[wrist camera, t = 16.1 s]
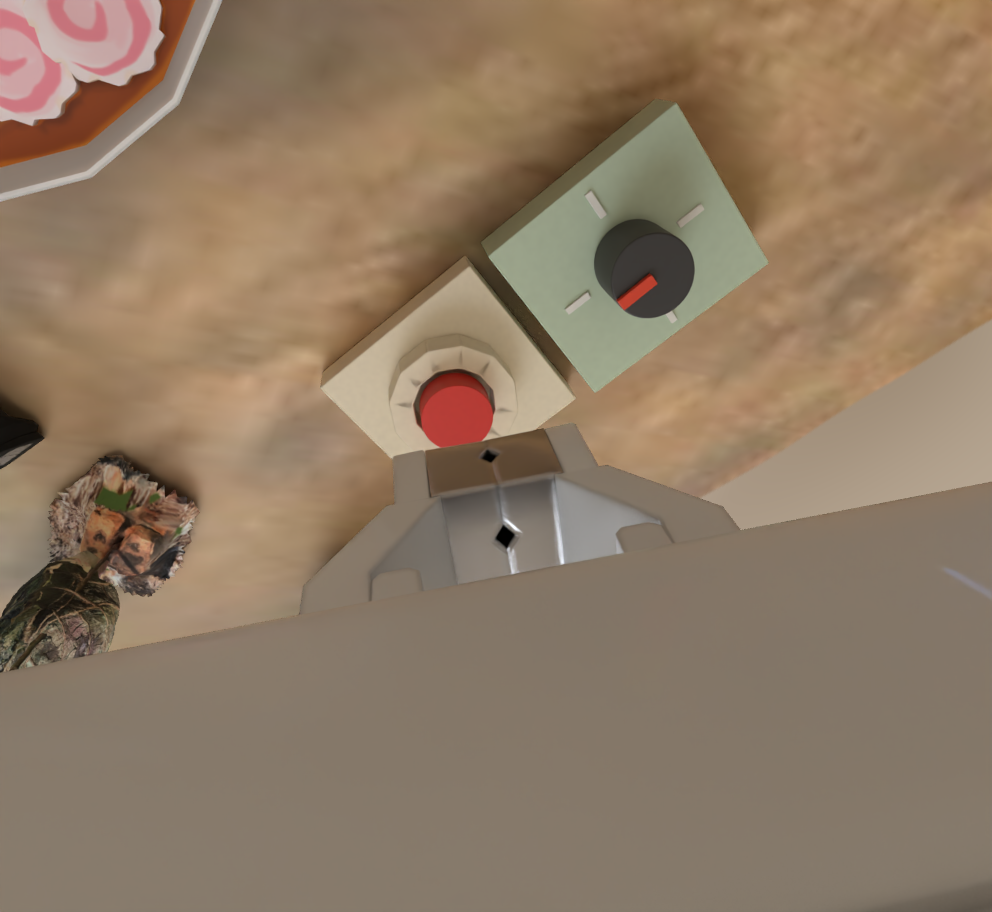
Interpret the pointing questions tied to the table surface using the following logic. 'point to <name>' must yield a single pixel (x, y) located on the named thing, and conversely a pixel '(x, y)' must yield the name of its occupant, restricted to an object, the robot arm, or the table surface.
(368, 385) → the switch box
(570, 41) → the table surface
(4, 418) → the electric trimmer
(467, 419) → the power button
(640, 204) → the dial panel
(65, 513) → the grey mottled tall figure
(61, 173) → the ramen bowl
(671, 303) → the dial
